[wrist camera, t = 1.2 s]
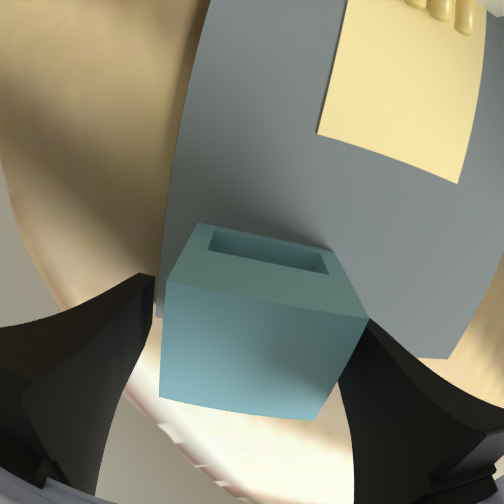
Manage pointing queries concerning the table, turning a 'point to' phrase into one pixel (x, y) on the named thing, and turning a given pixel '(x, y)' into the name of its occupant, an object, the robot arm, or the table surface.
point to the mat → (352, 151)
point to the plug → (256, 324)
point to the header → (459, 11)
